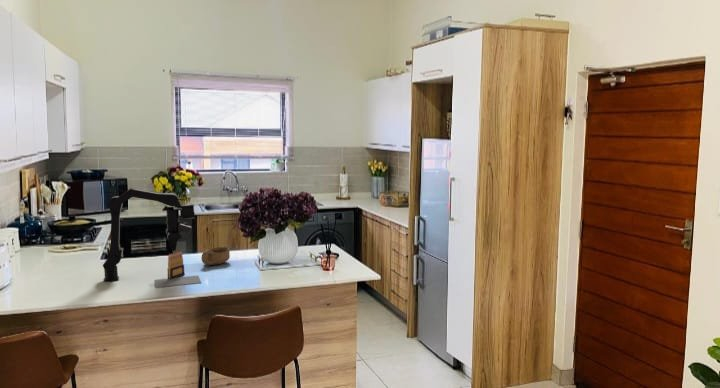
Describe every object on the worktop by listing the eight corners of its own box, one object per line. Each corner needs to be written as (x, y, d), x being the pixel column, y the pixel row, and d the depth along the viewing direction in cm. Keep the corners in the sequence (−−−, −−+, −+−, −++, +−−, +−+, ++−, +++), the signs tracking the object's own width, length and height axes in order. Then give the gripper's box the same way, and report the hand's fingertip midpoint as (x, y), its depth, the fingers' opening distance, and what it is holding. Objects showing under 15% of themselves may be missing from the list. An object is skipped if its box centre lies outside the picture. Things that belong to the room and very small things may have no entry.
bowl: (223, 266, 283) (217, 247, 282) (199, 272, 286) (193, 254, 285) (236, 258, 300) (231, 240, 300) (213, 264, 303) (208, 247, 302)
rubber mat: (154, 280, 261) (154, 279, 261) (198, 276, 269) (198, 275, 269) (155, 287, 248) (155, 287, 248) (201, 283, 256) (201, 282, 256)
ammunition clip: (170, 279, 261) (169, 254, 261) (167, 279, 262) (166, 254, 261) (184, 274, 272) (183, 250, 271) (181, 274, 272) (180, 250, 271)
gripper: (191, 220, 264) (193, 253, 265) (188, 215, 281) (189, 245, 283) (167, 222, 260) (168, 255, 261) (165, 217, 277) (166, 247, 279)
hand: (174, 250), depth 271 cm, fingers closed
